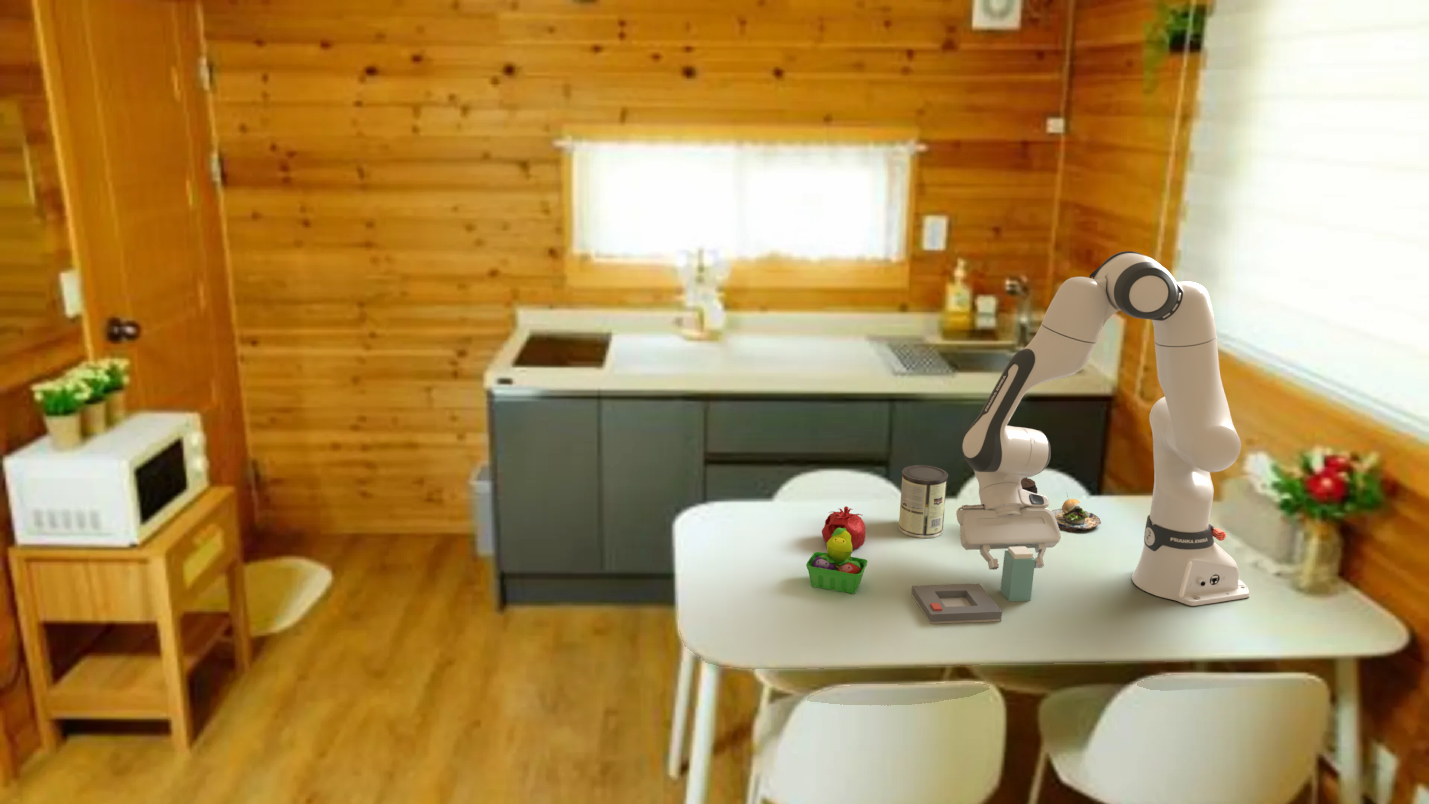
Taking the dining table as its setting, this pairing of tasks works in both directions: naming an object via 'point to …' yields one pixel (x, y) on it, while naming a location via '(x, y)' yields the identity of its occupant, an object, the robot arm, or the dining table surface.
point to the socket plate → (956, 603)
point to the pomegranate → (845, 526)
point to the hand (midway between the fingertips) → (1016, 568)
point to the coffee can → (922, 501)
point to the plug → (1017, 574)
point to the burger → (1074, 517)
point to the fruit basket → (837, 565)
